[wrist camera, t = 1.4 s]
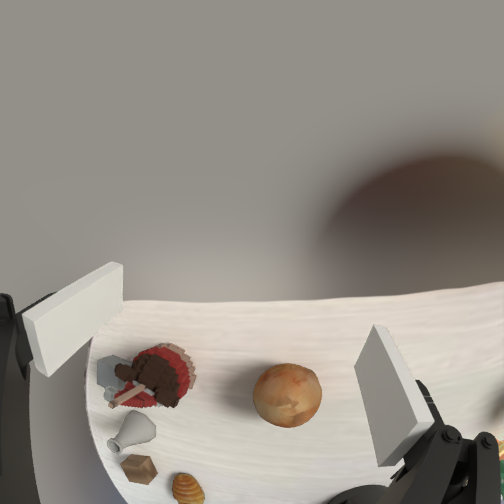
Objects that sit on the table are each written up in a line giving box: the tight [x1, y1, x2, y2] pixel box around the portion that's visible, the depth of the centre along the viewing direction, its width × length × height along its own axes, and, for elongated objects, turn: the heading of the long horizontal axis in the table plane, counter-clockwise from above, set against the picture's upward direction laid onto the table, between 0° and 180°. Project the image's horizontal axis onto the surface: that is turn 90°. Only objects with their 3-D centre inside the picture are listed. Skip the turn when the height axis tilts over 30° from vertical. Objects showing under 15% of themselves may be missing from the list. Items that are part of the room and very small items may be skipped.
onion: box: [253, 363, 322, 428], centre depth 35 cm, size 10×10×10 cm
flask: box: [107, 410, 156, 454], centre depth 39 cm, size 7×7×10 cm
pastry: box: [172, 473, 205, 504], centre depth 39 cm, size 9×7×4 cm
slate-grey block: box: [97, 355, 132, 391], centre depth 43 cm, size 5×5×5 cm
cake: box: [104, 343, 197, 409], centre depth 35 cm, size 11×9×18 cm
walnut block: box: [120, 454, 158, 485], centre depth 40 cm, size 5×5×5 cm
